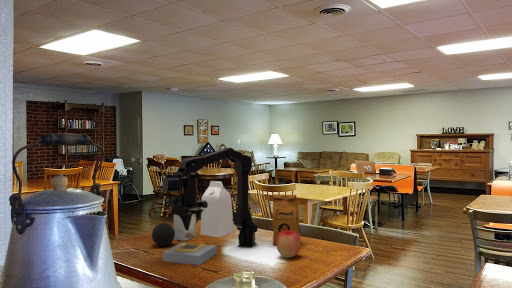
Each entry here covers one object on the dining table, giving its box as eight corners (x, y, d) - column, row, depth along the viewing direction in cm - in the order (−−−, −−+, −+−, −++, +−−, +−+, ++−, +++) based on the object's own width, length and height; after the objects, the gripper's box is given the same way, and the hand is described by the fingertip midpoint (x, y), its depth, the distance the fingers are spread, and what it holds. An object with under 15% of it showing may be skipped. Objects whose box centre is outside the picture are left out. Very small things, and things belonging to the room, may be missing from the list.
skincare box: (186, 241, 177) (185, 207, 177) (173, 240, 178) (172, 207, 178) (193, 236, 185) (192, 204, 185) (180, 236, 186) (179, 204, 186)
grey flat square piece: (216, 254, 155) (216, 243, 155) (199, 265, 142) (199, 253, 142) (182, 251, 161) (182, 240, 161) (163, 261, 148) (162, 249, 148)
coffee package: (297, 248, 161) (296, 196, 161) (270, 245, 166) (268, 195, 165) (303, 242, 170) (302, 193, 170) (277, 240, 175) (275, 192, 175)
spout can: (198, 235, 154) (198, 213, 154) (192, 238, 149) (192, 215, 149) (183, 234, 156) (183, 212, 156) (177, 236, 152) (176, 214, 152)
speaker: (170, 241, 177) (169, 220, 177) (178, 246, 169) (177, 223, 168) (149, 245, 172) (148, 223, 172) (156, 250, 163) (155, 227, 163)
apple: (272, 255, 152) (271, 230, 152) (294, 252, 155) (293, 227, 155) (282, 262, 143) (282, 235, 143) (305, 258, 146) (304, 233, 146)
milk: (233, 232, 192) (232, 180, 192) (219, 237, 182) (218, 183, 182) (214, 229, 199) (213, 179, 198) (200, 234, 189) (199, 182, 189)
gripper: (185, 186, 164) (185, 222, 164) (158, 192, 146) (159, 232, 147) (207, 187, 160) (208, 224, 160) (183, 193, 142) (184, 234, 142)
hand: (190, 228), depth 152 cm, fingers closed on spout can, 5 cm apart
